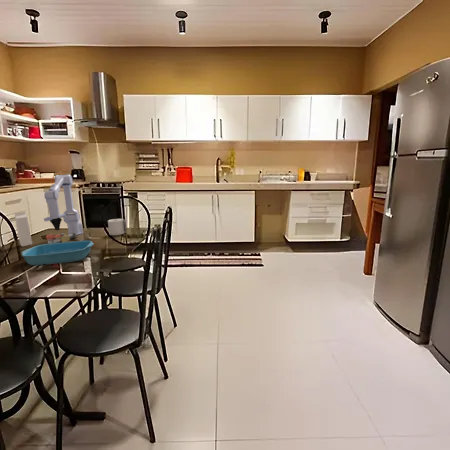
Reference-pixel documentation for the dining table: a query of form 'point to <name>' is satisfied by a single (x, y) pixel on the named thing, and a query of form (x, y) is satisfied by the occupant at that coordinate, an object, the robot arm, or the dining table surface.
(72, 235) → the valve body
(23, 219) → the milk
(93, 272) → the dining table surface
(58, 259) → the casserole dish
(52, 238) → the lever
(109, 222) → the toilet tissue
